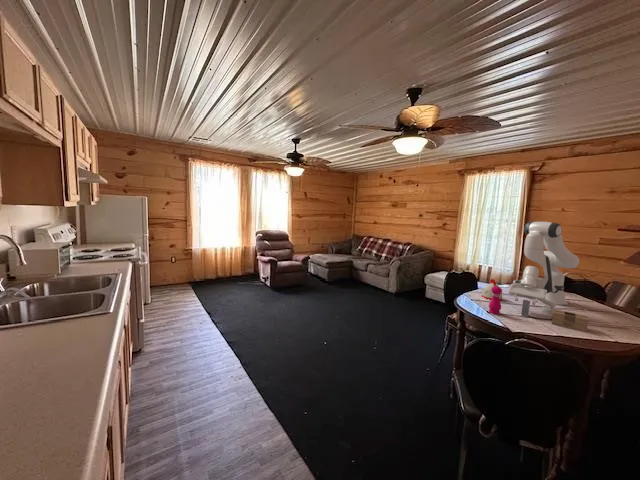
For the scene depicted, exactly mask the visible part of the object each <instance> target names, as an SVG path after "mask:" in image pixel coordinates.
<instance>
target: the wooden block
mask: <svg viewBox="0 0 640 480" xmlns="http://www.w3.org/2000/svg"><path fill="white" fill-rule="evenodd" d="M556 309H557V308H555V309H553V314H552V317H551V323H550V324H551V325H555V326H559V327H563V328H567V329H573V330H576V331H580V332H585V333H588V331H587V330H588V325H589V315H585V314H581V313H575V312H570V311H566V310H565V311H564V310H560V309H557V310H556Z"/></svg>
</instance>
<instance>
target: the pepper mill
mask: <svg viewBox="0 0 640 480" xmlns="http://www.w3.org/2000/svg"><path fill="white" fill-rule="evenodd" d="M495 284H496V286H494V287H492V289H491V291H492V292H493V293H492V300H490V301H489V304H488V308H489V309H488V313H489V312H490V313H489V314H491V313H493V314H492V315H495V314H499V315H500V314H501V309H502V304H501V301H499V298H500V295H501V294H500V293H502V294H503V289H502V287H500V286H499V284H497V283H495Z"/></svg>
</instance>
